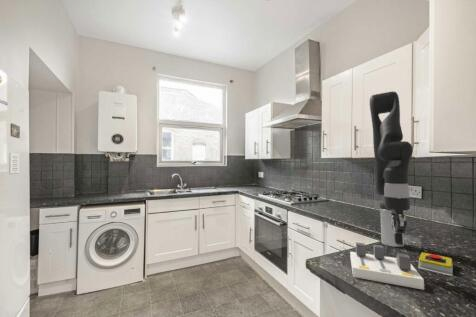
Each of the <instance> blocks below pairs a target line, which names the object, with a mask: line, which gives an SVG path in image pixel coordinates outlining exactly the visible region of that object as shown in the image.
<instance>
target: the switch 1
mask: <svg viewBox="0 0 476 317" xmlns="http://www.w3.org/2000/svg"><path fill="white" fill-rule="evenodd" d="M355 252H356V254H357V255H359V256H366V254H367V252H366V244H365V243H364V242H363V243H362V242H355Z"/></svg>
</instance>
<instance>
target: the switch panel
mask: <svg viewBox="0 0 476 317" xmlns="http://www.w3.org/2000/svg"><path fill="white" fill-rule="evenodd" d="M349 256H350V265H351V270H352V271H351V272H352V277H353V278H358V279H364V280H370V281H374V282H379V283H385V284H390V285H396V286H401V287H407V288H413V289H417V290H418V289H419V290H423V291H424V290H425V280H424V278H423V277H422V275H421V274H420V273H419V272H418V270H417V269H416V268H415V267H414V266H413V264H412V263H411V270H404V269H400V268H399V267H398V265H397V257H391V256H385V255H384V258H385V259H380V258H375V257H374V254H370V253H366V256H359V255H357V254H356V251H350V253H349Z"/></svg>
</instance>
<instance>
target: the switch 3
mask: <svg viewBox="0 0 476 317" xmlns="http://www.w3.org/2000/svg"><path fill="white" fill-rule="evenodd" d="M396 258H397V265H398V267H399V268H400V269H404V270H411V264H412V263H411V257H410V255H409V254H405V253H396Z"/></svg>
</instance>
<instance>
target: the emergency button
mask: <svg viewBox="0 0 476 317" xmlns="http://www.w3.org/2000/svg"><path fill="white" fill-rule="evenodd" d="M417 268H418V269H421V270H424V271H428V272H433V273H436V274H437V273H438V274H439V275H440V274H442V275H446V276H452V277H453V275H454V274H453V273H454V272H453V270H454V265H453V259H452V258H451V257H447V256H443V255H438V254H432V253H428V252H427V253H426V252H421V253H420V255H419V258H418V266H417Z"/></svg>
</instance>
